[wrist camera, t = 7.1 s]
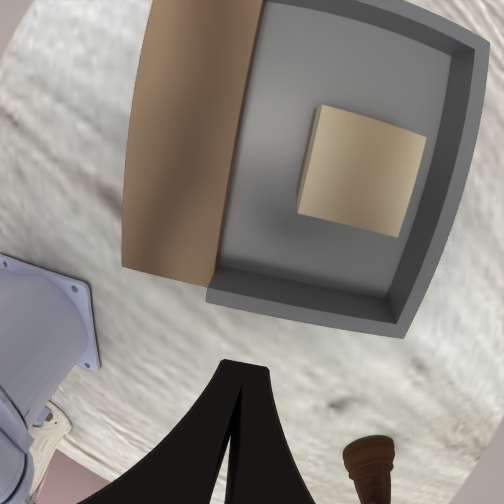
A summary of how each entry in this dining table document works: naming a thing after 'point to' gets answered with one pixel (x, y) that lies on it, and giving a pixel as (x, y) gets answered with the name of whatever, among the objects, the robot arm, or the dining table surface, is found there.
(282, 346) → the dining table surface
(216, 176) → the walnut board
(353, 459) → the chess piece
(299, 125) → the box
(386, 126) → the birch block
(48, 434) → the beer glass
